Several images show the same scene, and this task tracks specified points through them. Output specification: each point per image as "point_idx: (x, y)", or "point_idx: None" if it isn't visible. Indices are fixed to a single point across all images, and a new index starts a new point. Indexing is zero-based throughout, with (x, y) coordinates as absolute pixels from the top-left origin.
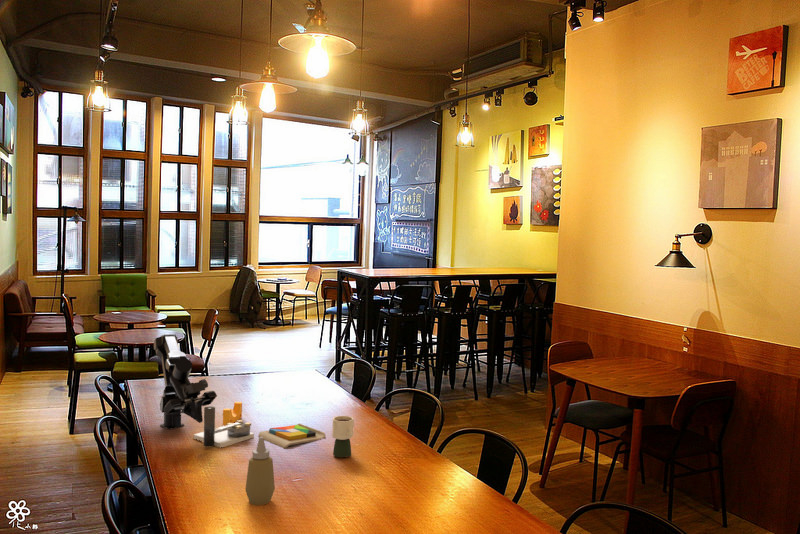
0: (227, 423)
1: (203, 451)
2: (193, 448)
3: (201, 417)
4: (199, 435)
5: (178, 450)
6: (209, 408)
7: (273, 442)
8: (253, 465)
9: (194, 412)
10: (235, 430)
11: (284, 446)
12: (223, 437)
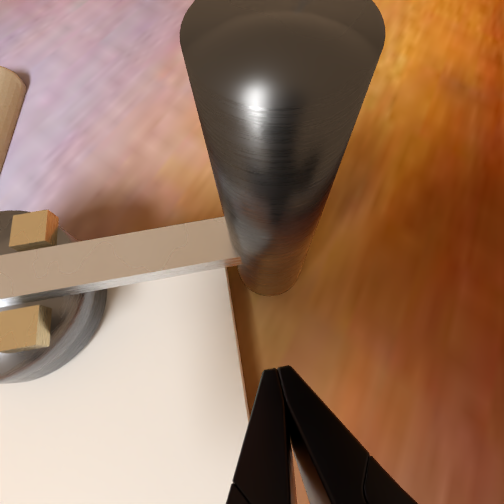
0: (28, 344)
1: (316, 239)
2: (344, 315)
3: (270, 397)
4: None
5: (434, 338)
6: (302, 4)
7: (2, 143)
8: None
9: (391, 481)
10: (70, 238)
11: (20, 80)
12: (141, 310)
